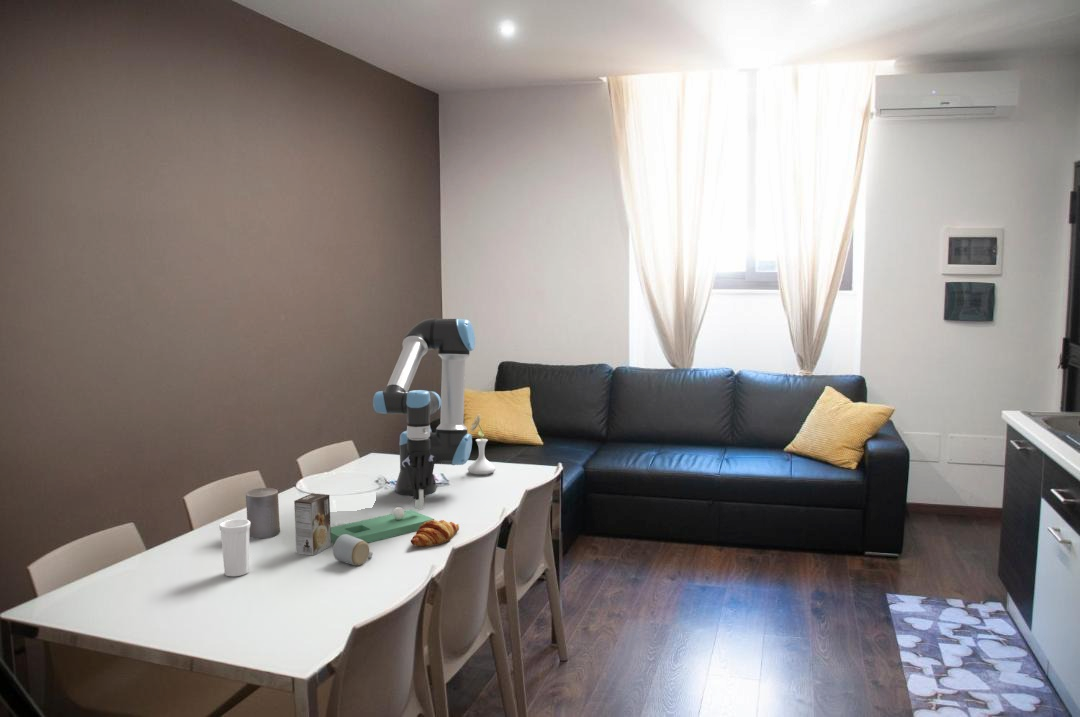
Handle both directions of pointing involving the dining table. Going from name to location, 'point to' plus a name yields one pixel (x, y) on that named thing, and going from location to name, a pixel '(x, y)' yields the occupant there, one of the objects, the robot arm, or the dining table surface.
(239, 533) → the cup
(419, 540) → the croissant
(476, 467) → the flower in vase
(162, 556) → the dining table surface
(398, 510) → the ball
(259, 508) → the pillar candle
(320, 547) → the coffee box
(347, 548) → the ceramic mug
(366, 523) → the green slotted board
